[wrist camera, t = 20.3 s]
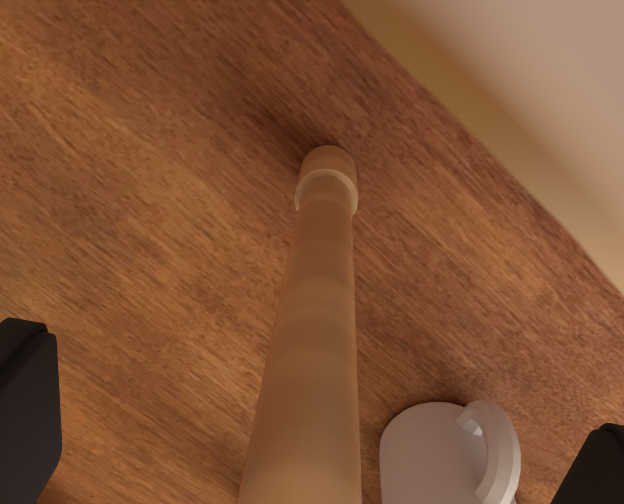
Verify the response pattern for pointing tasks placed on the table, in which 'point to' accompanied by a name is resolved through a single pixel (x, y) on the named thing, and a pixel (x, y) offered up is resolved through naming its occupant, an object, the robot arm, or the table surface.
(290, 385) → the muddler
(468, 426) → the cup
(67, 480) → the table surface
